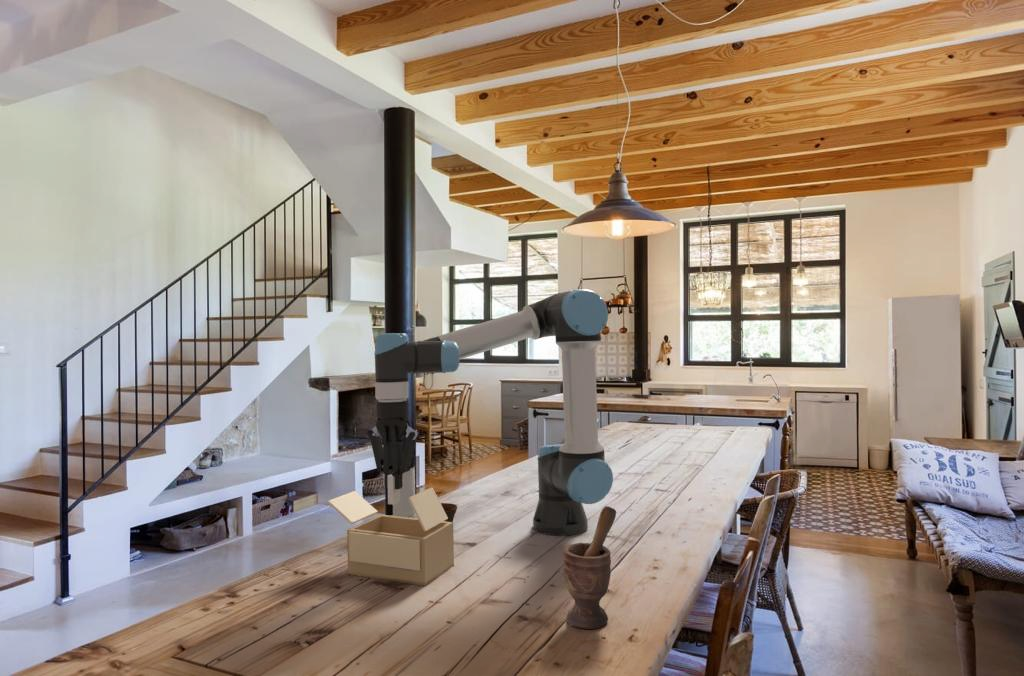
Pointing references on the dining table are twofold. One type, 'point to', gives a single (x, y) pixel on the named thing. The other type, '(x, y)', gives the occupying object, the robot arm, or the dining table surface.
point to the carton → (400, 550)
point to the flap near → (428, 508)
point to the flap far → (352, 507)
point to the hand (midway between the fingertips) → (394, 502)
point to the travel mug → (406, 494)
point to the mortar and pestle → (589, 575)
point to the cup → (449, 511)
